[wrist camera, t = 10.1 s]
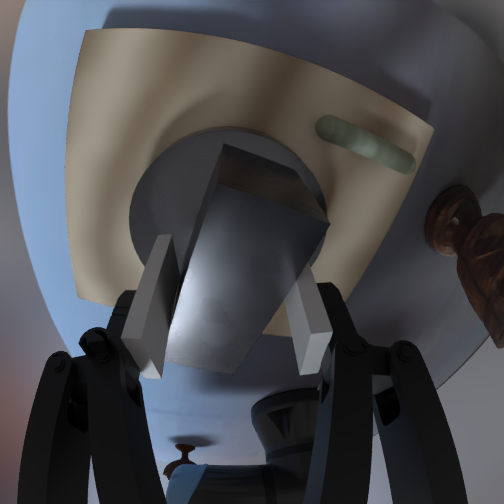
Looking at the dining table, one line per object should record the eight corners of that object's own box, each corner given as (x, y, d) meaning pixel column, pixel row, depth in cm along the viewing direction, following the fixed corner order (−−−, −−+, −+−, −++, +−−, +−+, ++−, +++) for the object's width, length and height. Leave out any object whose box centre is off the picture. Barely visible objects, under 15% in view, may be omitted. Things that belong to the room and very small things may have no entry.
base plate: (419, 123, 16) (448, 134, 13) (315, 324, 28) (323, 351, 25) (99, 33, 11) (73, 27, 8) (85, 283, 23) (71, 309, 20)
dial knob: (164, 101, 13) (103, 118, 6) (349, 171, 16) (418, 236, 9) (125, 282, 20) (95, 365, 13) (263, 317, 23) (274, 401, 17)
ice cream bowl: (157, 441, 54) (154, 490, 41) (196, 441, 53) (196, 495, 40) (175, 450, 60) (174, 494, 47) (211, 450, 59) (212, 497, 46)
